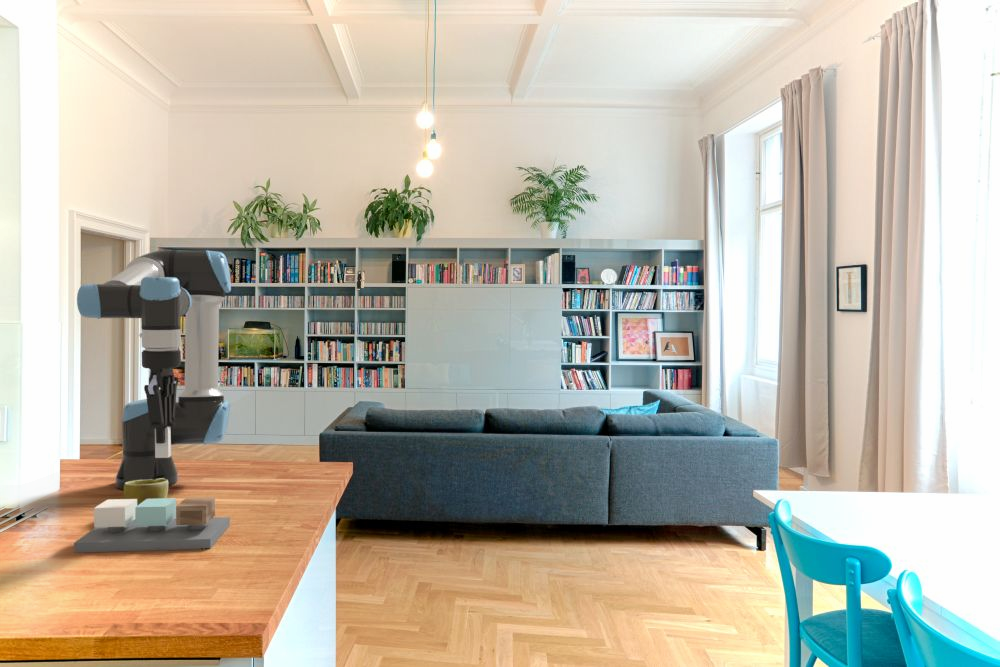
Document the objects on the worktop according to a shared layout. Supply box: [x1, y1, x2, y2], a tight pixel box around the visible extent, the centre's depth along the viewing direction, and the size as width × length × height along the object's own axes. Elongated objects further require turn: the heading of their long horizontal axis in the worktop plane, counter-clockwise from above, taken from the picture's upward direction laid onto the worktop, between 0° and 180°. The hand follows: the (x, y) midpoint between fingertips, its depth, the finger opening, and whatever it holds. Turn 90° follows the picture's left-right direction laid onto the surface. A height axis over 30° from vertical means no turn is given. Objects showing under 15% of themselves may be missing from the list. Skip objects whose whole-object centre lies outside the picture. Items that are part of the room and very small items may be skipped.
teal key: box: [135, 497, 177, 526], centre depth 141 cm, size 6×6×4 cm
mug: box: [123, 478, 169, 506], centre depth 158 cm, size 12×10×10 cm
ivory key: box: [93, 498, 137, 528], centre depth 140 cm, size 6×6×4 cm
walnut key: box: [175, 496, 216, 525], centre depth 142 cm, size 6×6×4 cm
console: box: [73, 516, 231, 553], centre depth 142 cm, size 14×26×5 cm, turn 97°
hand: (163, 456), depth 145 cm, fingers closed
